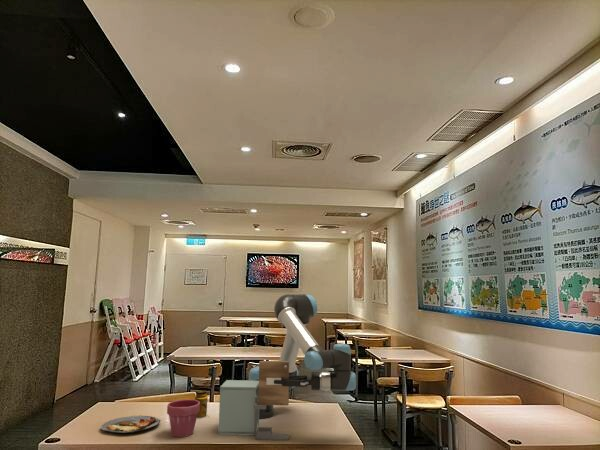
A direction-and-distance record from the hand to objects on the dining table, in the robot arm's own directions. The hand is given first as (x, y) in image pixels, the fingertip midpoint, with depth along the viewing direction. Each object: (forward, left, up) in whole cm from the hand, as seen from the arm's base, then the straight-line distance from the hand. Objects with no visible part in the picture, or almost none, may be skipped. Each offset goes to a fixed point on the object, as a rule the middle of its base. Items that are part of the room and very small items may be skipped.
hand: (267, 380), depth 184 cm
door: (0, +3, -10) cm, 10 cm away
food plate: (-9, -63, -24) cm, 68 cm away
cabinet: (-6, -6, -23) cm, 25 cm away
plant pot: (-2, -37, -24) cm, 44 cm away
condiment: (-28, -37, -24) cm, 53 cm away
